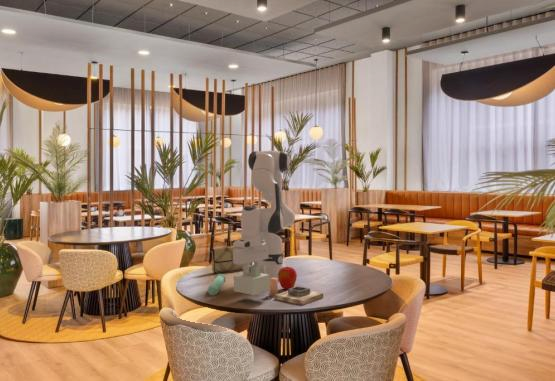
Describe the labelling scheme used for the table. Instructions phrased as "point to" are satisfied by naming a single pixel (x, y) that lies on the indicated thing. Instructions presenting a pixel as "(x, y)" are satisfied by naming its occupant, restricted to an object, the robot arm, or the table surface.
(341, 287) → the table surface
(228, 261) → the clutch purse
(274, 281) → the pin
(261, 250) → the robot arm
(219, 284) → the pale green rod
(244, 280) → the housing
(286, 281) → the apple
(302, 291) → the socket plate
